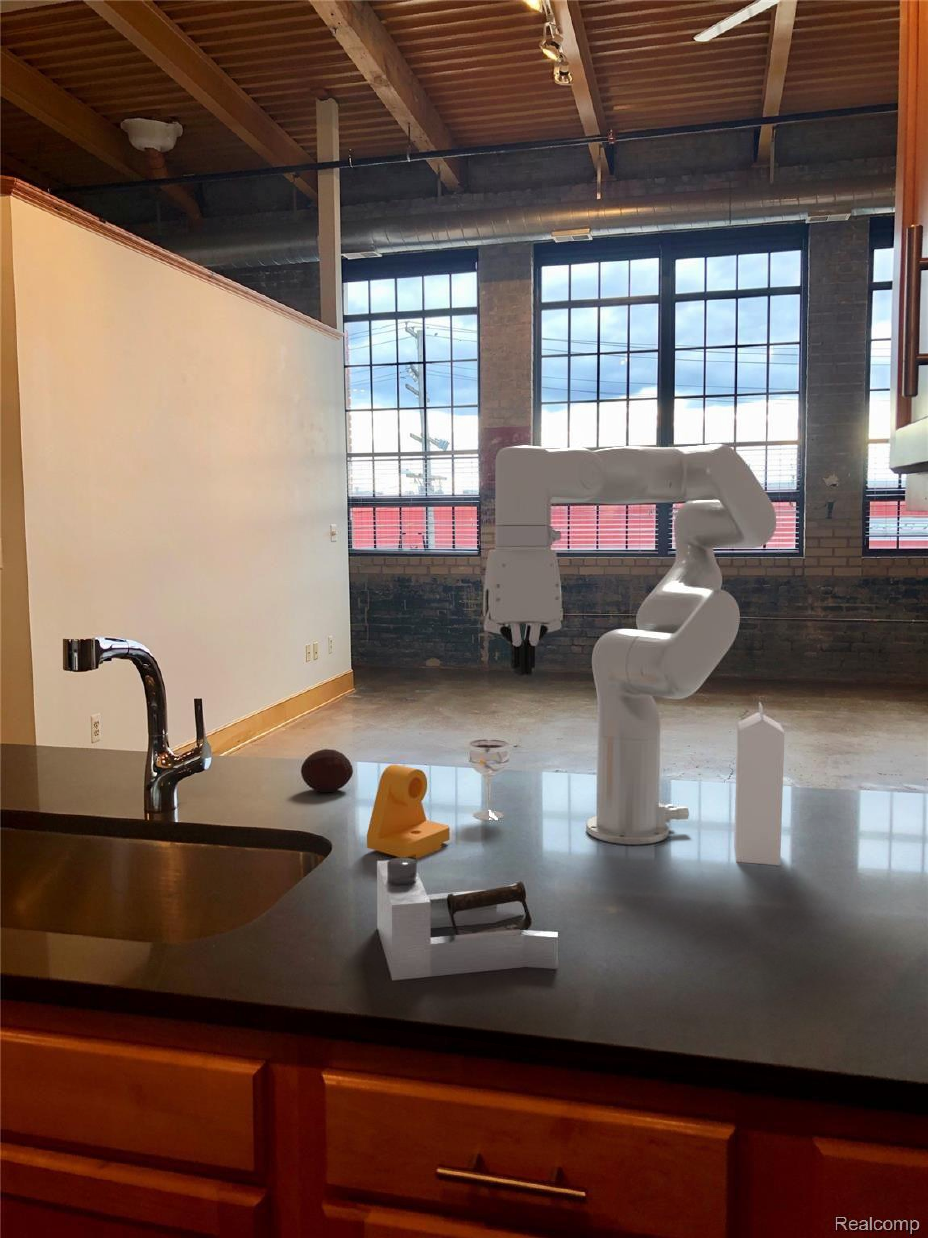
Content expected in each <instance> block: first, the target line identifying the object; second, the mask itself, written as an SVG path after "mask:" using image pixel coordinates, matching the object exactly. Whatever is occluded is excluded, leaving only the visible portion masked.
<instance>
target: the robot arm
mask: <svg viewBox="0 0 928 1238" xmlns="http://www.w3.org/2000/svg"><path fill="white" fill-rule="evenodd" d="M494 468H495V469H494V471H495V485H494V486H495V487H494V488H495V493H494V494H495V496H494V497H495V501H494V502H495V506H494V507H495V508H494V509H495V513H494V515H495V519H494V521H495V526H494V527H495V528H494V529H495V533H494V535H495V537H494V538H495V541H494V542H495V548H494V549H489V551H488V555H487V559H486V566H485V567H486V568H485V576H484V588H483V601H482V602H483V603H482V604H483V606H482V608H483V616H484V618H485V619H484V620H485V621H484V625H483V629H484V630H485V631H486V632H489V633H494V634H498V635H501V637H503V638H504V639H505V640H506V641H507V642H508V643H509V644H510V667H511V669H513V670H514V672H513V673H514V674H516V675H518V676H524V675H526V676H532V674H533V673H532V672H533V669H535V667H536V646H537V645H538V644H539V641H540V640H541V639H543V637H544V636H545V635H546V634H547V633H552V632H555V631H559V630H561V629H562V627H563V626H562V621H561V616H562V609H563V607H562V605H563V604H562V600H563V599H562V587H561V576H560V575H561V574H560V568H559V562H558V561H559V560H558V556H557V551H556V549H552V546H553V543H554V542H559V541H561V539H562V533H561V530H555V529H553V525H552V504H573V503H574V504H582V503H586V504H587V503H589V504H592V503H593V504H603V505H604V504H605V505H630V504H631V505H632V504H633V505H636V504H652V503H653V504H654V503H655V504H656V503H660V504H661V503H678V502H679V503H680V502H682V505H681V506H680V507H679V509H678V510H677V512H676V513H675V514H676V515H675V518H674V522H673V523H674V525H673V528H674V529H673V531H674V542H675V559H674V563H673V564H672V567H671V568H670V569H669V570H668V572H667V573H666V574H665V576H663V578H662V579H661V580H660V581H659V583H658V584H657V585H656V586H655V587H654V589H652V591H651V592H650V593H648V596H647V597H646V598H645V599H644V601H643V602H642V603H641V605H640V607H639V608H638V611H637V614H636V618H635V619H636V620H635V622H636V623H635V624H636V628H637V629H635V628H634V629H633V628H632V629H631V628H619V629H614V630H610V631H608V632H606V633H604V634H603V635H602V636H600V637H599V639H598V640H597V641H596V643H595V644H594V647H593V649H592V654H591V655H592V656H591V668H592V674H593V679H594V680H593V681H594V684H595V691H596V698H597V699H596V702H597V753H596V755H597V757H596V758H597V759H596V760H597V763H596V815H595V816H593V817H590V818H588V820H587V821H586V823H585V825H586V827H585V830H586V832H587V833H588V834H589V835H590V836H592V837H593V838H595V839H598V840H600V841H604V842H607V843H611V844H612V843H614V844H619V845H620V844H621V845H633V846H634V845H635V846H637V845H638V846H639V845H647V844H654V843H658V842H662V841H663V840H665V839H667V838H668V836H669V834H670V833H669V831H670V830H669V828H670V827H669V825H668V824H667V823H669V822H670V821H671V820H676V821H678V820H681V821H682V820H688V819H689V817H690V812H689V808H688V807H687V806H675V807H674V805H673V804H662V803H661V802H660V782H661V781H660V780H661V779H660V778H661V774H660V773H661V767H660V766H661V732H662V731H661V728H662V724H661V716H660V712H659V709H658V706H657V703H656V701H655V698H654V697H658V698H664V699H671V700H682V699H685V698H688V697H690V696H691V695H693V694H694V693H696V691H697V690H698V689H700V687H701V686H702V685H703V684H704V683H705V682H706V680H707V678H709V676H710V675H711V673H712V672H713V671H714V670H715V668H716V667H717V666H718V664H719V663H720V662H721V660H722V659H723V657H724V656H725V654H727V652H728V651H729V649H730V648H731V646H732V645H733V643H734V642H735V639H736V636H737V634H738V631H739V626H740V622H741V621H740V618H741V617H740V616H741V615H740V614H741V613H740V607H739V605H738V602H737V601H736V599H735V598H734V596H732V594H730V592H728V591H726V590H724V589H721V588H722V586H723V577H722V576H723V575H722V571H721V569H720V566H719V565H718V563H717V560H716V557H715V552H714V549H756V548H760V547H763V546H765V545H766V544H768V542H770V541H771V539H772V538H773V537H774V534H775V531H776V528H777V514H776V510H775V507H774V505H773V503H772V500H771V499H770V497H769V495H768V493H767V492H766V491H765V489H764V487H763V486H762V484H761V483H760V481H759V480H758V479H757V477H756V476H755V474H754V472H753V470H752V469H751V467H749V465H748V464H747V462H746V461H745V460H744V458H742V457H741V455H740V454H739V453H738V452H737V451H736V450H734V449H733V448H732V447H730V446H729V445H727V444H722V443H714V444H706V445H705V444H704V445H702V444H701V445H694V446H674V447H673V446H672V447H671V446H667V447H666V446H661V447H660V446H659V447H658V446H636V445H635V446H620V447H610V448H603V449H598V450H591V449H588V448H584V447H565V448H555V449H554V448H553V449H549V448H545V447H542V446H536V445H516V446H508V447H507V446H506V447H503V448H501V449H500V450H499V451H498V452H497V454H496V457H495V467H494ZM683 502H684V503H683ZM503 624H504V625H503ZM520 624H525V630H524V631H525V632H524V637H523V640H522V636H521V629H520Z"/></svg>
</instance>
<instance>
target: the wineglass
mask: <svg viewBox="0 0 928 1238" xmlns="http://www.w3.org/2000/svg"><path fill="white" fill-rule="evenodd" d="M468 745H469V748H470V749H469V750H468V752H467V757H468V759H467V760H468V763H469V765H470V767H471V768H472V769H473V770H474V771H475V772H477V773H479V774H481V775H483V777H484V778H485V785H486V790H485V791H486V810H482V811H477V812H474V813H473V814H472V815H473V817H474V818H475V819H478V820H483V821H494V820H498V819H502V818H503V817H504V814H503V813H502V812H499V811H497V810H496V811H495V810H491V809H490V803H491V782H492V781H491V779H492V778H493V777H494V775H496V774H498V773H501V772H502V771H503V770H504V769H505V768H506V767H507V766H508V763H509V760H510V753H509V751H508V749H507V748H508V747H509V742H507V741H505V740H502V739H494V738H493V739H492V738H490V739H488V738H486V739H485V738H483V739H482V738H481V739H476V740H475V739H474V740H471V741H469V742H468Z"/></svg>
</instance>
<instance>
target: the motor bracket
mask: <svg viewBox="0 0 928 1238" xmlns="http://www.w3.org/2000/svg"><path fill="white" fill-rule="evenodd" d="M417 865H418V862H417V861H416V859H415V858H412V857H396V858H395V857H394V858H391V859H389V860H377V861H376V893H377V894H376V903H377V904H376V906H377V909H376V913H377V914H376V915H377V916H376V917H377V923H376V924H377V930H378V931H377V933H378V934H379V939H380V943H381V945H382V949H383V952H384V955H385V959H386V963H387V967H388V970H389V973H390V977H391V981H400V980H409V979H419V978H421V979H422V978H429V977H438V976H449V975H459V974H460V975H461V974H468V973H478V972H489V971H498V970H508V969H509V970H510V969H518V968H534V969H535V968H536V969H538V968H539V969H551V970H552V969H553V970H557V969H558V956H559V955H558V950H559V949H558V940H559V939H558V938H559V936H558V935H559V934H558V933H559V932H558V931H545V930H544V931H543V930H529V929H528V930H520V929H519V930H508V931H497V932H486V933H476V932H474V933H475V934H465V935H457V934H455V935H445V936H443V935H442V936H434V937H431V932H432V931H431V929H438V928H439V929H440V928H451V927H452V928H453V926H452V922H451V918H450V915H449V911H448V906H447V896H448V894H453V895H460V894H466V893H472V892H478V891H484V890H485V889H478V890H468V891H456V892H454V891H453V892H444V893H431V894H429V893H428V894H427V891H426V889H425V887H424V884H423V882H422V879H421V878H420V875H419V873H418V870H417V869H418V867H417ZM516 884H517V883H514V884H510V885H509V886H512V885H516ZM507 886H508V885H506V886H505V887H507ZM523 915H525V911H524V907H523V905H522V902H519V901H516V902H509V903H504V904H498V905H492V906H486V907H480V908H474V909H469V910H464V911H457V912H456V913H455V914H454V920H455V923H456V927H462V926H463V927H464V926H473V925H474V926H475V925H484V924H486V925H487V924H495V923H497V922H501V921H502V922H503V921H505V920H509V919H513V918H517V917H520V916H523Z"/></svg>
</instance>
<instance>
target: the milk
mask: <svg viewBox="0 0 928 1238" xmlns="http://www.w3.org/2000/svg"><path fill="white" fill-rule="evenodd" d="M736 733H737V734H736V763H735V764H736V765H735V766H736V767H735V771H736V772H735V798H734V799H735V802H734V804H735V806H734V834H733V835H734V840H733V841H734V843H733V844H734V845H733V849H734V855H735V856H734V857H735V861H736V863H745V864H755V865H756V864H757V865H758V864H759V865H770V866H781V851H782V850H781V849H782V825H783V824H782V822H783V821H782V820H783V819H782V818H783V790H784V789H783V788H784V761H785V760H784V758H785V731H784V729H783V727H782V725H781V724H780V723H778V722H777V721H775V720H773V719H772V718H770V717H769V716H767V715H766V714H764V707H763V705H762V703H761V701H759V703H758V712H756V713H754V714H752V715H750V716H748V717H746V718H744V719H742V720H740V721H738V722H737V732H736Z"/></svg>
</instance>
